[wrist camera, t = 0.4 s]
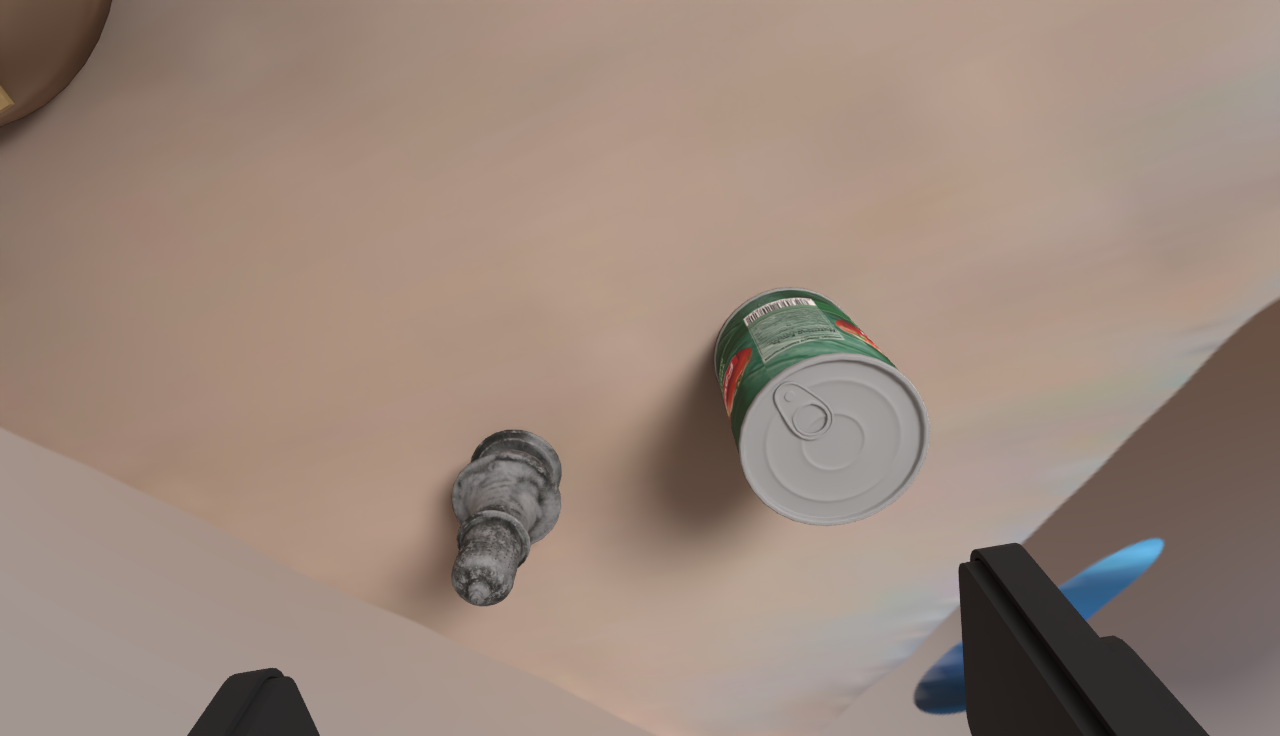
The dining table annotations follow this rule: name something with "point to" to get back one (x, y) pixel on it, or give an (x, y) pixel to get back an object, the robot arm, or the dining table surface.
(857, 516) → the canned tomato
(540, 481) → the gray candlestick
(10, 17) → the base
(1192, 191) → the dining table surface
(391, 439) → the dining table surface
